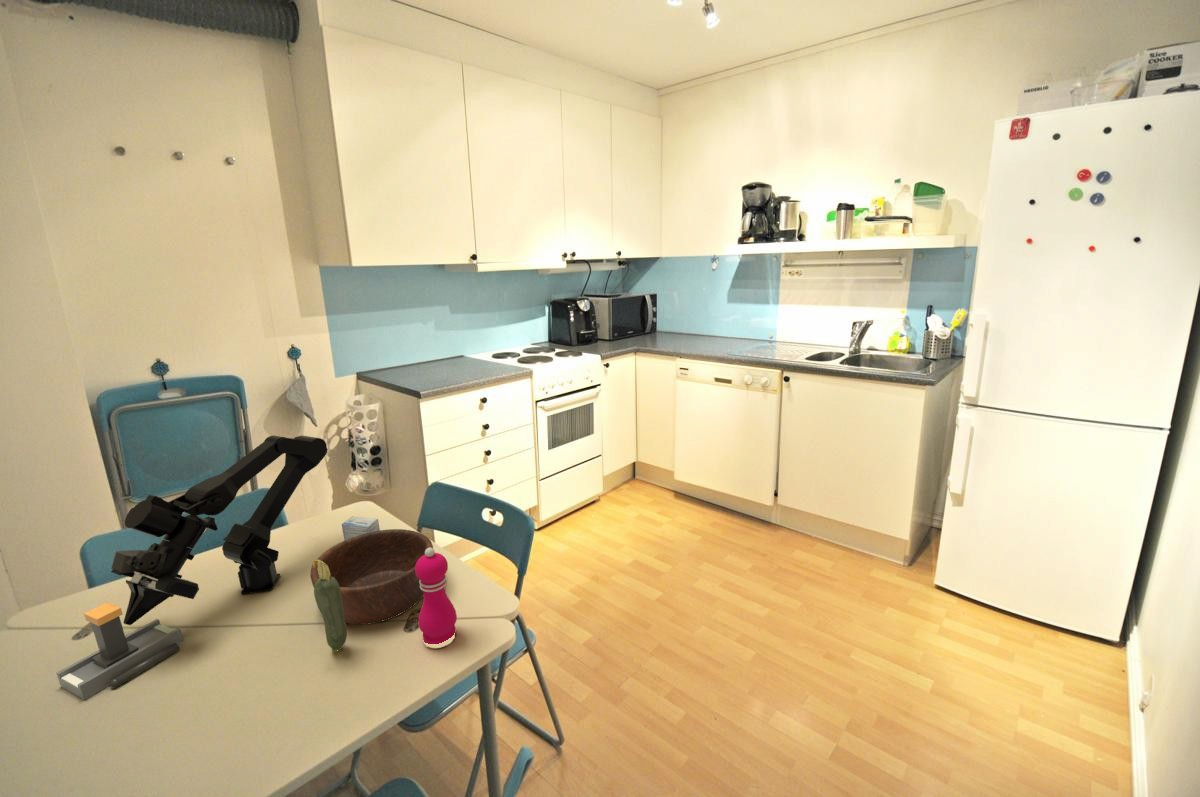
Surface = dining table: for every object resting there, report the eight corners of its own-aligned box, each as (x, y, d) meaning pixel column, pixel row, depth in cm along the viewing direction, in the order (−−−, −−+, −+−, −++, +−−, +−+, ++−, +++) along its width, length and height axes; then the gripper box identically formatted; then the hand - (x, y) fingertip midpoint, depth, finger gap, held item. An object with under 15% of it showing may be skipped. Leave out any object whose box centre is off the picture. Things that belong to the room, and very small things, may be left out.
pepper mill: (463, 627, 110) (454, 538, 105) (451, 652, 104) (440, 559, 98) (429, 625, 111) (418, 538, 106) (414, 650, 104) (402, 557, 99)
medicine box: (383, 548, 142) (378, 517, 140) (372, 557, 138) (368, 526, 136) (357, 545, 144) (352, 515, 142) (345, 554, 140) (340, 523, 137)
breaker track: (153, 628, 113) (150, 616, 112) (190, 644, 108) (187, 631, 107) (54, 683, 99) (49, 669, 98) (91, 704, 94) (86, 689, 93)
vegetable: (355, 647, 106) (340, 555, 100) (338, 662, 102) (321, 568, 97) (337, 642, 107) (321, 552, 102) (320, 657, 103) (302, 564, 98)
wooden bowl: (443, 560, 135) (438, 523, 133) (430, 625, 112) (424, 581, 109) (336, 572, 131) (330, 534, 129) (300, 642, 108) (291, 597, 105)
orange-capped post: (124, 644, 105) (111, 599, 102) (139, 651, 103) (126, 605, 100) (92, 661, 100) (78, 615, 98) (107, 669, 98) (92, 622, 96)
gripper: (111, 523, 107) (54, 603, 100) (167, 540, 100) (110, 629, 93) (165, 540, 116) (116, 615, 109) (220, 557, 109) (171, 639, 102)
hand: (126, 624), depth 103 cm, fingers closed
